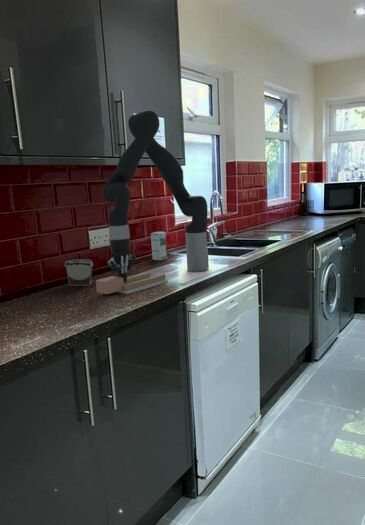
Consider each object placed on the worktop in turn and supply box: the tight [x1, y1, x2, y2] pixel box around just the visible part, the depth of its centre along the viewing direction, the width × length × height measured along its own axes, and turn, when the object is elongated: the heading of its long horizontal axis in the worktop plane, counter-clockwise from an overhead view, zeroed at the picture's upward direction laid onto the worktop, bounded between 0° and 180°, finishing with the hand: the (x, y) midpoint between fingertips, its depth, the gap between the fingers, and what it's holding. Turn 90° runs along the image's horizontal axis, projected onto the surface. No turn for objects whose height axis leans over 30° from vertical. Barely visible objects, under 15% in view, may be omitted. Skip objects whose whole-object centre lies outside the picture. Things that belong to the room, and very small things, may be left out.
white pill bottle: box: [150, 231, 168, 261], centre depth 230 cm, size 6×6×14 cm
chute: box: [116, 271, 169, 295], centre depth 172 cm, size 22×12×3 cm, turn 140°
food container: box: [64, 258, 94, 287], centre depth 180 cm, size 12×6×10 cm, turn 74°
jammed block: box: [95, 275, 124, 295], centre depth 161 cm, size 8×6×4 cm
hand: (123, 282), depth 166 cm, fingers closed
